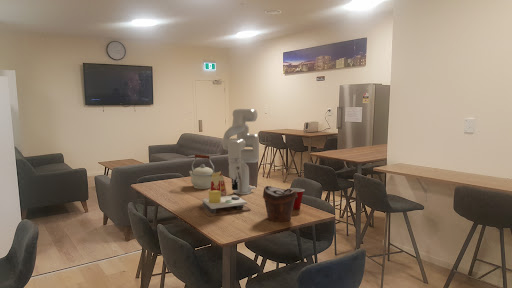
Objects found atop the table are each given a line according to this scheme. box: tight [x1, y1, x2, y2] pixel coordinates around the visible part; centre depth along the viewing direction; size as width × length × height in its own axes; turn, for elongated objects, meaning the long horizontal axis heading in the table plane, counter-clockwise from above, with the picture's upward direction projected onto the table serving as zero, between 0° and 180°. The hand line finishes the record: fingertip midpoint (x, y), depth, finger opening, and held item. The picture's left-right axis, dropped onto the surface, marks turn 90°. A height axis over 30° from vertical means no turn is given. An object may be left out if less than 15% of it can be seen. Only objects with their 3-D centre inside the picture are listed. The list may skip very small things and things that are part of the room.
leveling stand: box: [198, 201, 251, 217], centre depth 219 cm, size 26×20×4 cm
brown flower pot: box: [262, 185, 298, 223], centre depth 201 cm, size 18×20×18 cm
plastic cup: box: [287, 187, 305, 210], centre depth 221 cm, size 11×11×12 cm
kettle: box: [188, 154, 215, 190], centre depth 277 cm, size 25×18×25 cm
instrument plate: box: [201, 190, 248, 209], centre depth 219 cm, size 22×18×8 cm
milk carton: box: [210, 170, 228, 197], centre depth 238 cm, size 9×9×20 cm
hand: (234, 189), depth 222 cm, fingers closed
